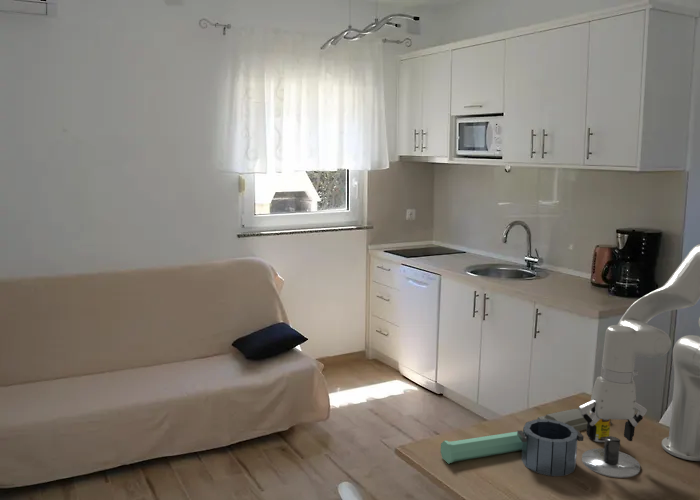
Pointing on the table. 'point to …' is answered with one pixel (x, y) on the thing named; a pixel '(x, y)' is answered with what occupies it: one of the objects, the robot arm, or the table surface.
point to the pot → (549, 447)
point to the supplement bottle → (602, 429)
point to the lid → (611, 460)
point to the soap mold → (569, 418)
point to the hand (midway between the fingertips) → (609, 438)
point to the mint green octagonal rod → (480, 447)
